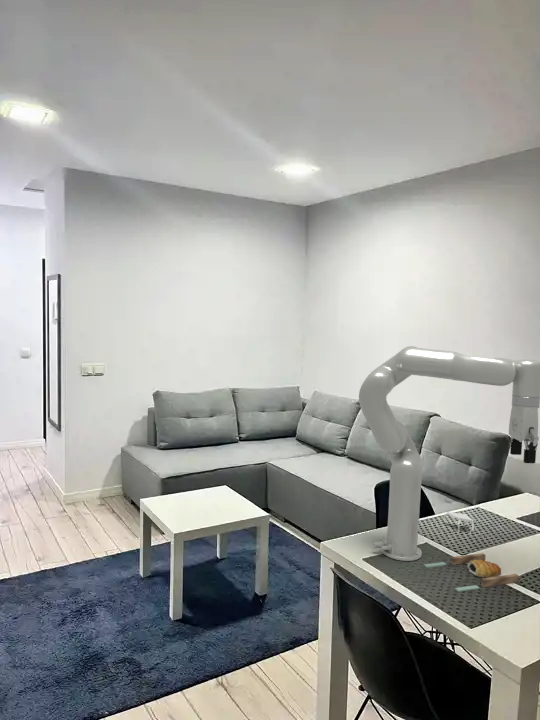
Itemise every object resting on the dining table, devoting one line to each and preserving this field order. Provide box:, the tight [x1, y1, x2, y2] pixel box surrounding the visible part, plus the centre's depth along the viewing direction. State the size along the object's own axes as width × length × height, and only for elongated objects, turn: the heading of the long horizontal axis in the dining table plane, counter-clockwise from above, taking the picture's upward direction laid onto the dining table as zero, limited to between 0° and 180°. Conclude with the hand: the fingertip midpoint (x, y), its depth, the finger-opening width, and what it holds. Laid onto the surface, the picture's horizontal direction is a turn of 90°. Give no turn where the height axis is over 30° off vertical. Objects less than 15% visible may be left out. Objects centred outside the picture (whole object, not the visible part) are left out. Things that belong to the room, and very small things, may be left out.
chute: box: [449, 552, 520, 588], centre depth 168 cm, size 12×15×2 cm
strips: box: [424, 561, 480, 593], centre depth 165 cm, size 7×16×1 cm, turn 19°
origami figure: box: [442, 511, 475, 535], centre depth 203 cm, size 12×8×5 cm
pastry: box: [467, 560, 502, 578], centre depth 168 cm, size 9×7×4 cm
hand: (522, 458), depth 168 cm, fingers open, 9 cm apart
